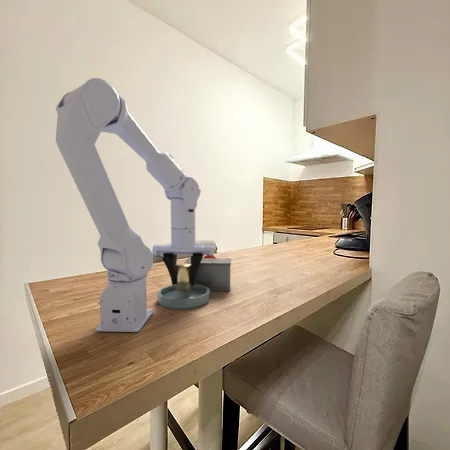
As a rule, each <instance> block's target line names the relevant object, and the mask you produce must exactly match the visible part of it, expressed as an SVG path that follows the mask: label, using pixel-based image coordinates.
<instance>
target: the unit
mask: <svg viewBox="0 0 450 450" xmlns="http://www.w3.org/2000/svg"><path fill="white" fill-rule="evenodd" d="M184 263H187V264H191V257H188V258H187V259H186V260H185V261H184ZM231 267H232V258H224V257H223V258H217V257H215V258H202V260H201V263H200V265H199V268H198V271H197V275H196V282H195V284H198V285H204V286H206V287H207V288H209V289H210V292H231V283H232V282H231V271H232V270H231Z"/></svg>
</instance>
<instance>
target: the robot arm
mask: <svg viewBox="0 0 450 450" xmlns="http://www.w3.org/2000/svg"><path fill="white" fill-rule="evenodd" d="M55 111H56V114H57V121H56V131H55V142H56V145H57V148H58V150H59V152H60V154H61V156H62V158H63V161H64V162H65V165H66V167H67V169H68V171H69V172H70V174H71V177H72V179H73V182H74V183H75V185H76V188H77V190H78V192H79V194H80V197H81V198H82V200H83V202H84V204H85V207H86V208H87V211H88V212H89V214H90V217H91V219H92V221H93V223H94V225H95V227H96V230H97V232H98V234H99V236H100V237H99V239H98V241H97V245H98V248H99V251H100V262H101V263H100V264H101V265H102V266H103V268H104V269H105V270H106V274H107V284H106V287H105V288H104V290H103V291H102V292H101V294H100V296H99V314H100V315H99V317H100V324H99V325H98V326H97V327H96V329H95V331H96V332H112V333H113V332H118V333H119V332H121V333H122V332H123V333H124V332H125V333H126V332H127V333H129V332H130V333H139V331H141V329H142V328H143V327H144V325H145V324H146V323H147V322H148V320H149V318H150V317H151V316H152V314H153V313H154V309H148V307H147V306H148V304H147V300H148V299H147V277H148V275H149V274H148V273H150V271H151V269H152V268H153V265H154V256H157V255H163V257H162V262H163V263H164V265H165V267H166V269H167V271H168V274H169V277H170V280H171V281H170V282H171V285H176V265H177V264H178V263H177V262H178V261H177V260H178V255H190V256H191V257H190V258H191V270H192V275H191V285H195V282H196V275H197V271H198V268H199V265H200V263H201V260H202V258H203V257H204V256H206V255H213V256H215V255H214V254H215V246H214V245H199V244H198V245H197V244H196V209H197V207H198V200H199V198H200V195H201V192H202V191H201V189H200V185H199V183H198V182H197V181H196V180H195V179H194V178H193V177H190V176H187V174H186V173H185V171H184V170H183V169H181V168H180V166H179V165H178V164H177V163H176V162H175V160H174V157H173V156H172V155H171V153H167V152H166V151H160V150H158V149H157V148H156V146H155V145H154V144H153V142H152V141H151V140H150V139H149V137H148V136H147V134H146V133H145V132H144V131H143V129H142V128H141V127H140V126H139V124H138V123H137V122H136V120H135V119H134V118H133V117H132V115H131V114H130V112H129V109H128V106H127V102H126V101H125V99H124V97H122V96H121V95H119V93H118V92H117V90H116V89H115V87H113V85H112V84H111V83H110V82H108V81H107V80H105V79H102V78H100V77H93V78H92V77H91V78H90V79H87V80H86V81H85V82H84V83H83V84H81V85H80V86H78V87H77V88H75V89H73V90H71V91H69V92H67V93H65V94H63V96H62V97H61V99H60V101H58V103H57V105H56V106H55ZM101 133H107V134H114V135H116V136H118V137H119V139H121V140H122V141H123V142H124V143H125V145H127V146H128V147H129V148H131V150H132V151H134V152H135V153H136V154H137V155H138V156H139V157H140V158H141V159H143V161H145V162H146V163H145V165H146V167H145V168H146V171H147V172H148V173H149V175H151V176H152V177H153V178H154V180H156V181H157V182H158V183H159V184H160V186H162V188H163V191H164V195H165V197H166V199H168V200H169V201H170V225H171V226H170V237H171V238H170V239H171V240H170V242H171V243H170V244H166V245H154V246H152V250H151V249H150V247H148V246H147V245H146V244H145V243H144V242H143V239H142V237H141V236H140V234H138V233H137V232H136V231H134V229H132V227H130V225H129V223H128V220H127V218H126V216H125V213H124V211H123V209H122V206H121V203H120V201H119V199H118V196H117V193H116V192H115V190H114V187H113V185H112V183H111V181H110V178H109V175H108V173H107V170H106V168H105V166H104V164H103V162H102V160H101V156H100V154H99V153H98V149H97V147H96V142H97V140H98V138H99V137H100V134H101Z"/></svg>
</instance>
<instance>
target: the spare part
mask: <svg viewBox="0 0 450 450" xmlns="http://www.w3.org/2000/svg"><path fill="white" fill-rule="evenodd" d="M191 275H192V270H191V264H187V263H185V262H183V263H176V284H175V285H176V291H178V292H189V291H191V290H192V285H191Z"/></svg>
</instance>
